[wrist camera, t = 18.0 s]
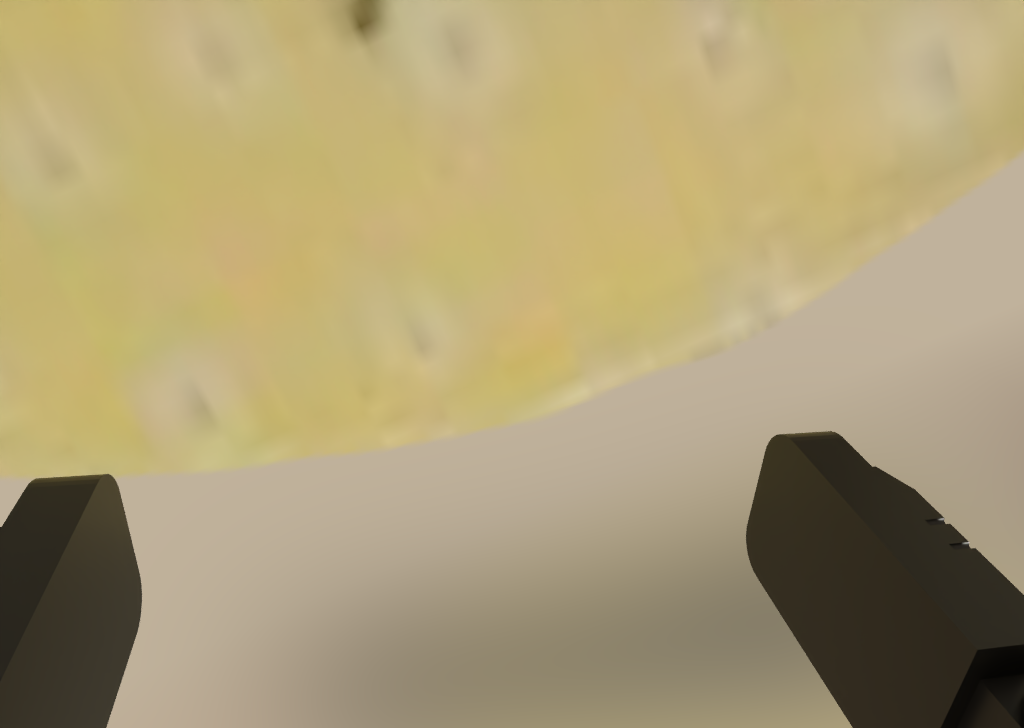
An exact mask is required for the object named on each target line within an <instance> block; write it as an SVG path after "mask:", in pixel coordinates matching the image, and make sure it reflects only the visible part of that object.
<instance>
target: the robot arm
mask: <svg viewBox="0 0 1024 728" xmlns="http://www.w3.org/2000/svg"><path fill="white" fill-rule="evenodd" d="M746 543H747V551H748V556H749V560H750V563H751V566H752V568H753V571H754V573H755V574H756V576H757V577H758V579H759V581H760V583H761V584H762V586H763V587H764V589H765V590H766V592H767V594H768V595H769V597H770V598H771V600H772V601H773V603H774V604H775V606H776V608H777V609H778V611H779V612H780V614H781V616H782V617H783V619H784V620H785V622H786V623H787V625H788V627H789V628H790V630H791V631H792V633H793V634H794V636H795V637H796V639H797V641H798V642H799V644H800V645H801V647H802V649H803V650H804V652H805V653H806V655H807V656H808V658H809V660H810V661H811V663H812V664H813V666H814V667H815V669H816V671H817V672H818V674H819V675H820V677H821V678H822V680H823V682H824V683H825V685H826V686H827V688H828V689H829V691H830V693H831V694H832V696H833V697H834V699H835V700H836V702H837V704H838V705H839V707H840V708H841V710H842V711H843V713H844V715H845V716H846V718H847V719H848V721H849V722H850V724H851V726H852V727H853V728H1024V595H1023V594H1022V593H1021V592H1020V591H1019V590H1018V589H1017V588H1016V587H1015V586H1014V585H1013V584H1012V583H1011V582H1010V581H1009V580H1008V579H1007V578H1006V577H1005V576H1004V575H1003V574H1002V573H1000V572H999V571H998V570H997V569H996V568H995V567H994V566H993V565H992V564H991V563H990V562H989V561H988V560H987V559H986V558H985V557H984V556H983V555H982V554H981V553H980V552H979V551H978V550H977V549H975V548H973V549H971V548H970V547H969V542H968V541H967V540H966V539H965V538H964V537H963V536H962V535H961V534H960V533H959V532H958V531H957V530H956V529H955V528H954V527H953V526H952V525H951V524H945V522H944V517H943V516H942V515H941V514H939V512H937V511H936V510H935V509H934V508H933V507H932V506H931V505H930V504H929V503H928V502H927V501H926V500H925V499H924V498H923V497H922V496H921V495H920V494H919V493H918V492H917V491H916V490H915V489H913V488H911V487H909V486H908V485H906V484H904V483H903V482H901V481H899V480H898V479H896V478H894V477H893V476H891V475H889V474H887V473H886V472H884V471H882V470H880V469H879V468H877V467H872V466H871V465H870V464H869V463H868V462H867V461H866V460H865V459H864V458H863V457H862V456H861V455H860V454H859V453H858V452H857V451H856V450H855V449H854V448H853V447H852V446H851V445H850V444H849V443H848V442H847V441H846V440H845V439H844V438H843V437H842V436H840V435H839V434H837V433H835V432H832V431H830V432H829V431H828V432H812V433H796V434H780V435H776V436H774V437H773V438H772V439H771V440H770V442H769V443H768V445H767V448H766V451H765V455H764V459H763V463H762V467H761V471H760V475H759V479H758V483H757V487H756V492H755V496H754V500H753V504H752V508H751V512H750V516H749V520H748V524H747V531H746ZM141 604H142V589H141V579H140V574H139V569H138V565H137V561H136V557H135V553H134V549H133V545H132V540H131V536H130V532H129V528H128V524H127V520H126V515H125V511H124V507H123V503H122V499H121V495H120V491H119V487H118V485H117V483H116V481H115V479H114V478H113V477H112V476H111V475H109V474H103V475H87V476H71V477H54V478H38V479H35V480H33V481H31V482H30V483H29V484H28V486H27V487H26V489H25V490H24V492H23V493H22V495H21V497H20V498H19V500H18V502H17V503H16V505H15V506H14V508H13V510H12V511H11V513H10V515H9V516H8V518H7V519H6V521H5V522H4V524H3V526H2V527H0V728H106V727H107V724H108V720H109V717H110V714H111V711H112V708H113V705H114V702H115V699H116V696H117V693H118V690H119V687H120V684H121V680H122V677H123V675H124V671H125V668H126V665H127V662H128V659H129V656H130V653H131V650H132V647H133V644H134V641H135V637H136V635H137V631H138V627H139V622H140V616H141Z"/></svg>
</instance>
